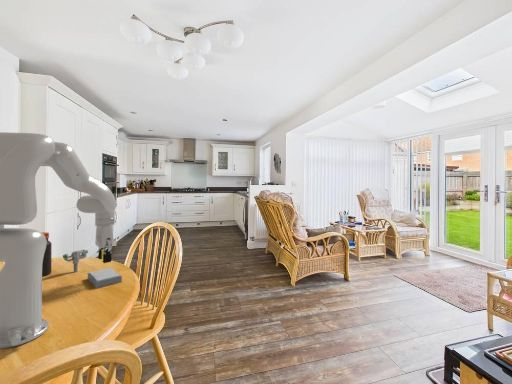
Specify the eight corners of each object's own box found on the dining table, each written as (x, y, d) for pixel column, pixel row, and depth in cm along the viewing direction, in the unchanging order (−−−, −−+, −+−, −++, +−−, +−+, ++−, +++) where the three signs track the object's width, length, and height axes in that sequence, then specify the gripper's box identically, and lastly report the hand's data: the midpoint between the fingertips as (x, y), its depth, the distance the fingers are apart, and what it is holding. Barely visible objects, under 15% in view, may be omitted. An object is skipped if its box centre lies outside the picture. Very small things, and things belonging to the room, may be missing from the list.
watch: (99, 262, 111) (99, 249, 111) (106, 260, 113) (106, 248, 113) (103, 264, 107) (103, 251, 107) (110, 263, 109) (110, 250, 109)
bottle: (35, 273, 116) (35, 232, 115) (53, 271, 119) (53, 231, 118) (29, 278, 110) (29, 235, 109) (48, 276, 112) (48, 234, 112)
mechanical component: (62, 274, 115) (62, 254, 115) (85, 268, 124) (85, 249, 124) (65, 275, 114) (65, 255, 113) (88, 269, 123) (88, 250, 122)
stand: (121, 281, 109) (121, 275, 109) (96, 288, 102) (96, 281, 101) (111, 273, 118) (111, 267, 118) (87, 278, 111) (87, 272, 111)
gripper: (90, 220, 112) (90, 257, 113) (101, 225, 100) (101, 267, 101) (108, 218, 118) (108, 254, 118) (120, 223, 106) (120, 263, 107)
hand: (104, 260), depth 110 cm, fingers closed on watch, 6 cm apart
